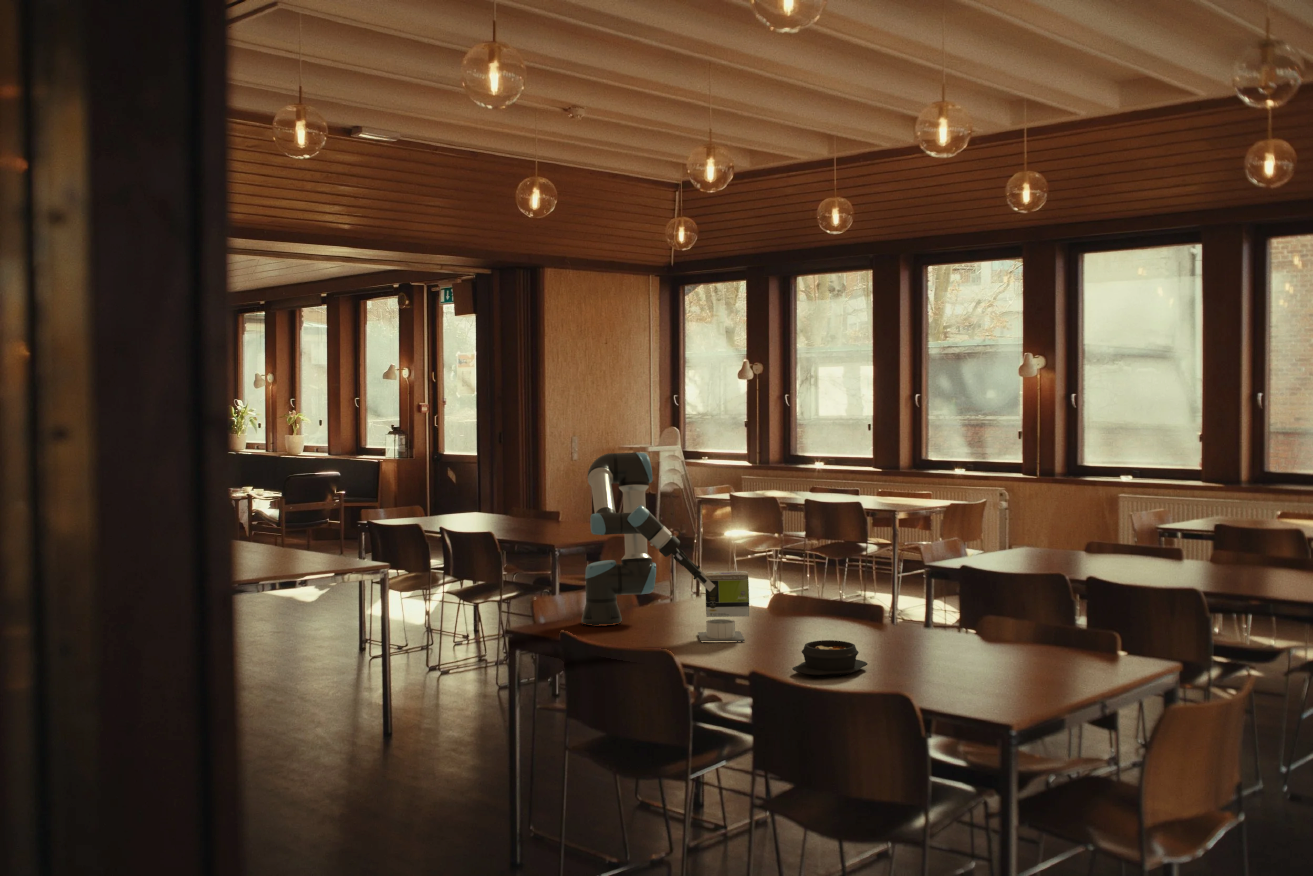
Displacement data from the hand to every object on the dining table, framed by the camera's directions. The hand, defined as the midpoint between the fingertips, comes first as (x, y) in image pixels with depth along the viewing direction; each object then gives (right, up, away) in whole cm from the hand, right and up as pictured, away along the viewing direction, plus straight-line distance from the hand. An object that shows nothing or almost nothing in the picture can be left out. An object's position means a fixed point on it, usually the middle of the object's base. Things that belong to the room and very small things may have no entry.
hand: (711, 586), depth 396 cm
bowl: (+3, -18, +1) cm, 18 cm away
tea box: (+6, -10, 0) cm, 12 cm away
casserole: (+33, -19, -54) cm, 66 cm away
